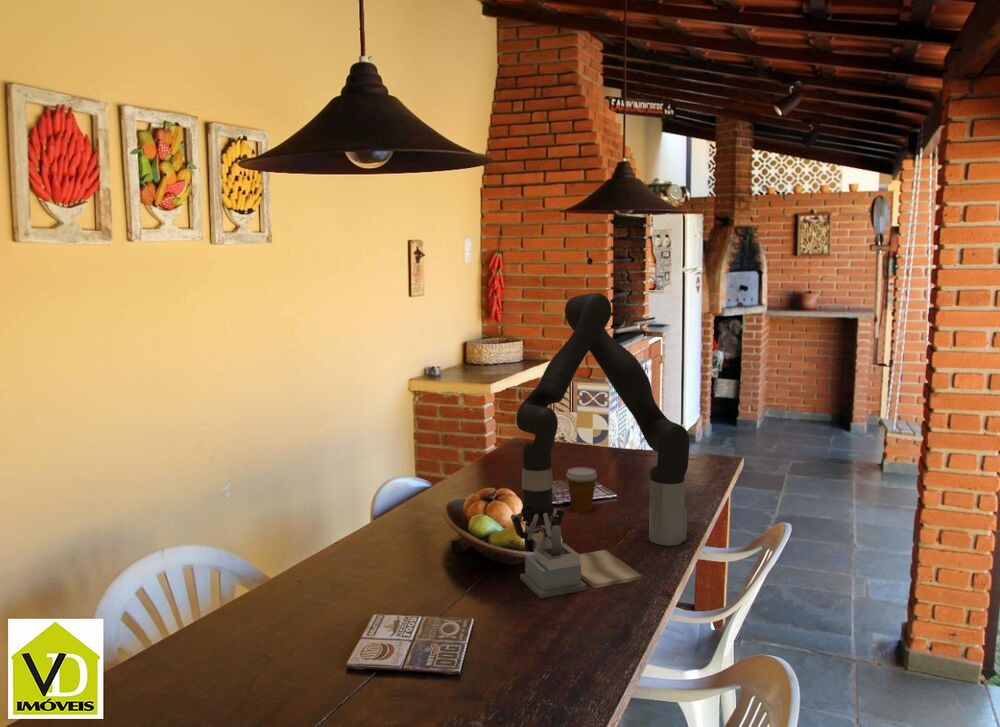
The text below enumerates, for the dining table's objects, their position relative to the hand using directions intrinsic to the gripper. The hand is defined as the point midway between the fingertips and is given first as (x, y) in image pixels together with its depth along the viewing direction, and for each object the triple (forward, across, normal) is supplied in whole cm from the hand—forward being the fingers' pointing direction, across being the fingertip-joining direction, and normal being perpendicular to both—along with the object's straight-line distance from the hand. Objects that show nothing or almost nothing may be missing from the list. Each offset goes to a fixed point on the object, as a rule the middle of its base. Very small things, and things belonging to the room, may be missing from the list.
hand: (537, 551), depth 197 cm
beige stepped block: (-1, 0, +6) cm, 6 cm away
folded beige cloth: (+5, -14, +6) cm, 16 cm away
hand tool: (+5, +8, -24) cm, 25 cm away
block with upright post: (+5, 0, +9) cm, 10 cm away
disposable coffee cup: (+5, -32, -38) cm, 50 cm away
